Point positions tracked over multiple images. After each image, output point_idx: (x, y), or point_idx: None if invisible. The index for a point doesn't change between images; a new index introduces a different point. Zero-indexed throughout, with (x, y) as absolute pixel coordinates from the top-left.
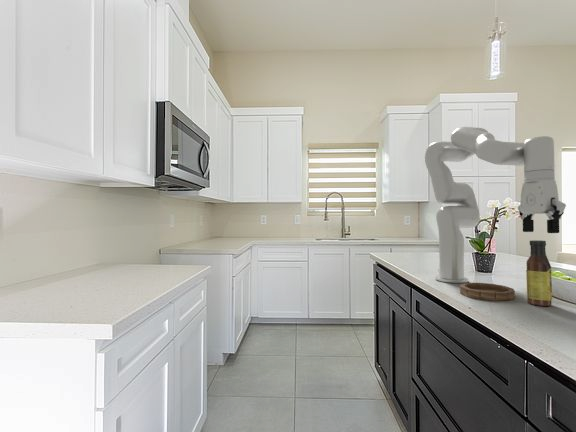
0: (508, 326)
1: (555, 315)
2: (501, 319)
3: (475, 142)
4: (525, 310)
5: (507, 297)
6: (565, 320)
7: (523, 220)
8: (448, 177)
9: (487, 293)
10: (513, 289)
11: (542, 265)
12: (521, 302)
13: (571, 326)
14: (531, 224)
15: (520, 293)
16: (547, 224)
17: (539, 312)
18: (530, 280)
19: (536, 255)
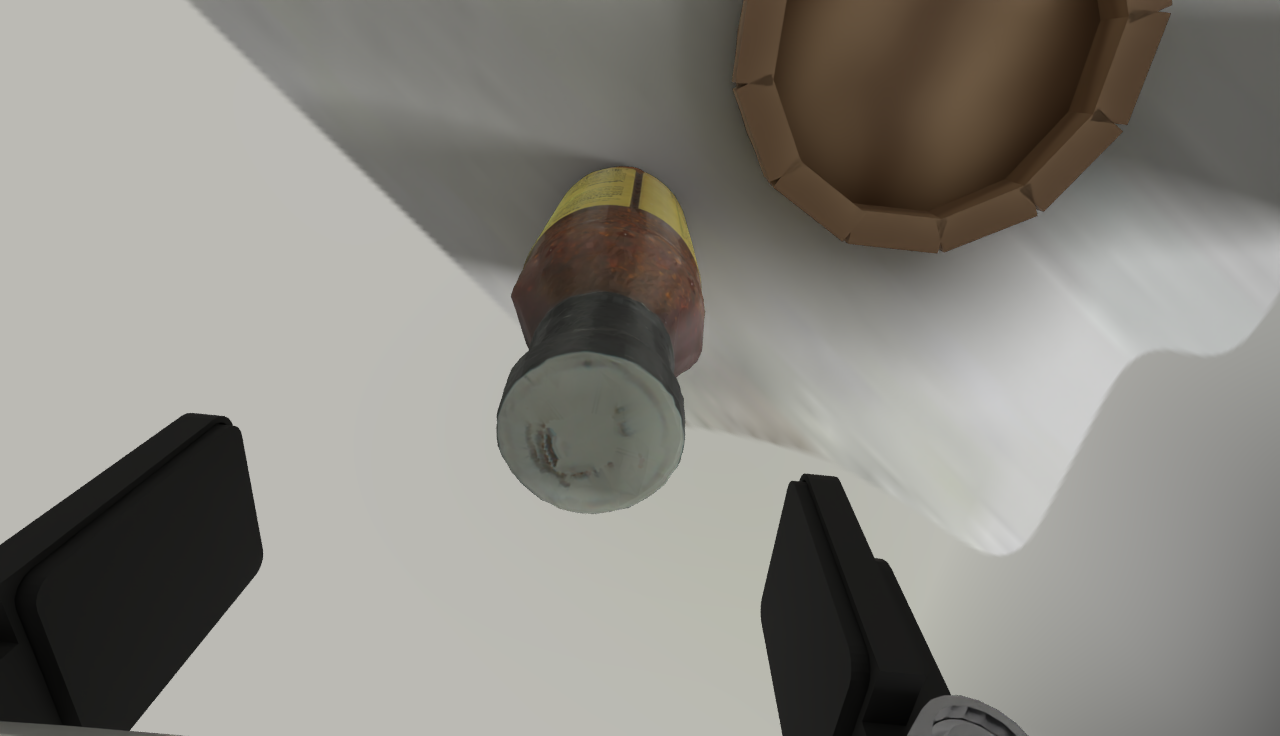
0: None
1: (394, 109)
2: None
3: None
4: (501, 4)
5: (733, 78)
6: (300, 77)
7: (885, 653)
8: None
9: None
10: (821, 222)
11: (519, 278)
12: (681, 150)
13: (191, 3)
14: (790, 694)
15: (881, 341)
16: (101, 505)
17: (455, 63)
18: (605, 188)
19: (562, 299)
